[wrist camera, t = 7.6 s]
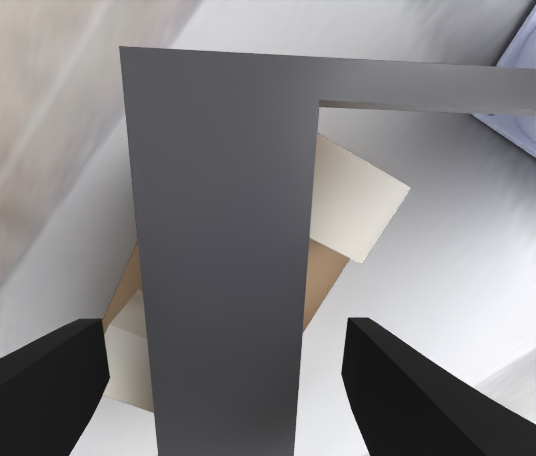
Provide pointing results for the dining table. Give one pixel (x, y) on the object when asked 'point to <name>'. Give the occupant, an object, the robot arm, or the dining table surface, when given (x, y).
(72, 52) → the dining table surface
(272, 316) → the grey notched block
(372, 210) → the display stand
